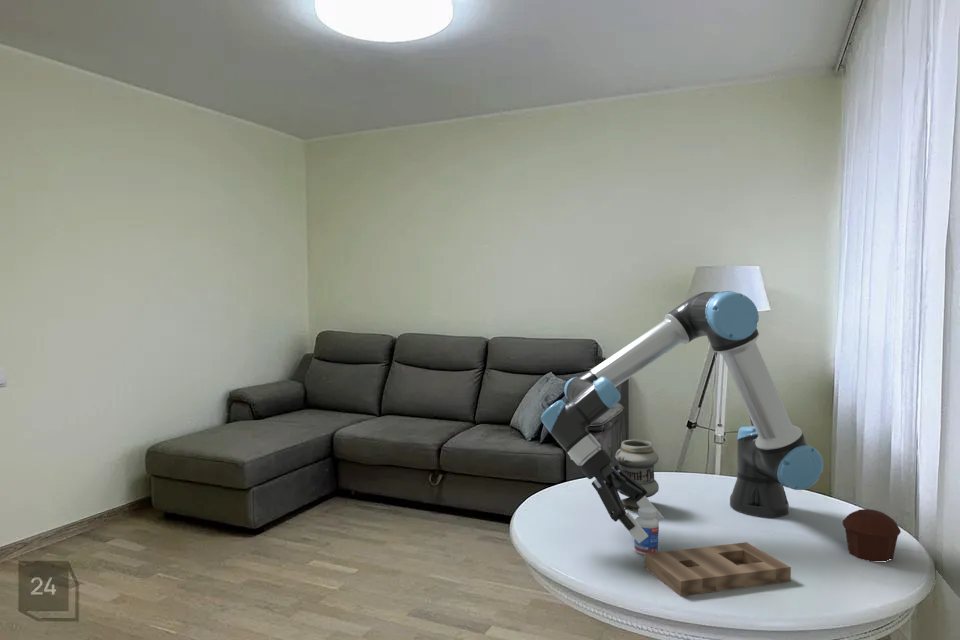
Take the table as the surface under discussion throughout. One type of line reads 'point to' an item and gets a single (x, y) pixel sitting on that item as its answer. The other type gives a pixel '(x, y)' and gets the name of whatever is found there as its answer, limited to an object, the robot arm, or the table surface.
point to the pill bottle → (647, 531)
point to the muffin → (871, 535)
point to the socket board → (716, 568)
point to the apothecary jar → (638, 468)
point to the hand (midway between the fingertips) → (652, 530)
